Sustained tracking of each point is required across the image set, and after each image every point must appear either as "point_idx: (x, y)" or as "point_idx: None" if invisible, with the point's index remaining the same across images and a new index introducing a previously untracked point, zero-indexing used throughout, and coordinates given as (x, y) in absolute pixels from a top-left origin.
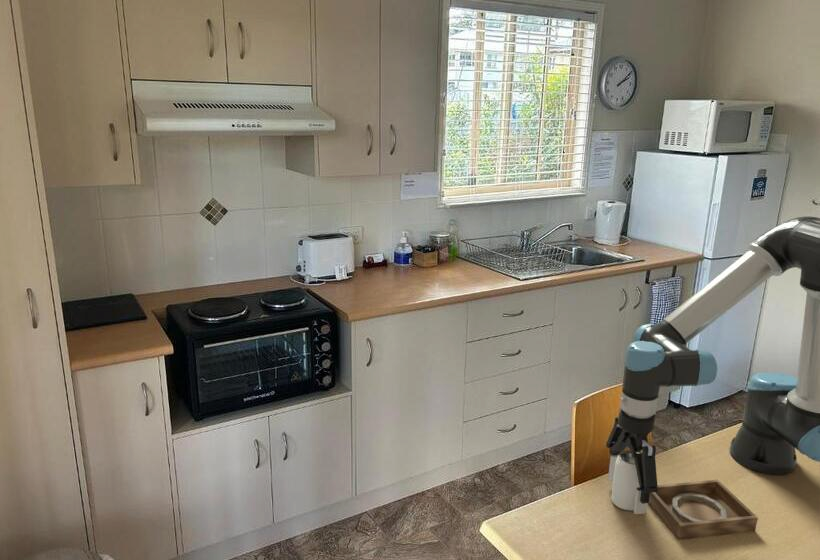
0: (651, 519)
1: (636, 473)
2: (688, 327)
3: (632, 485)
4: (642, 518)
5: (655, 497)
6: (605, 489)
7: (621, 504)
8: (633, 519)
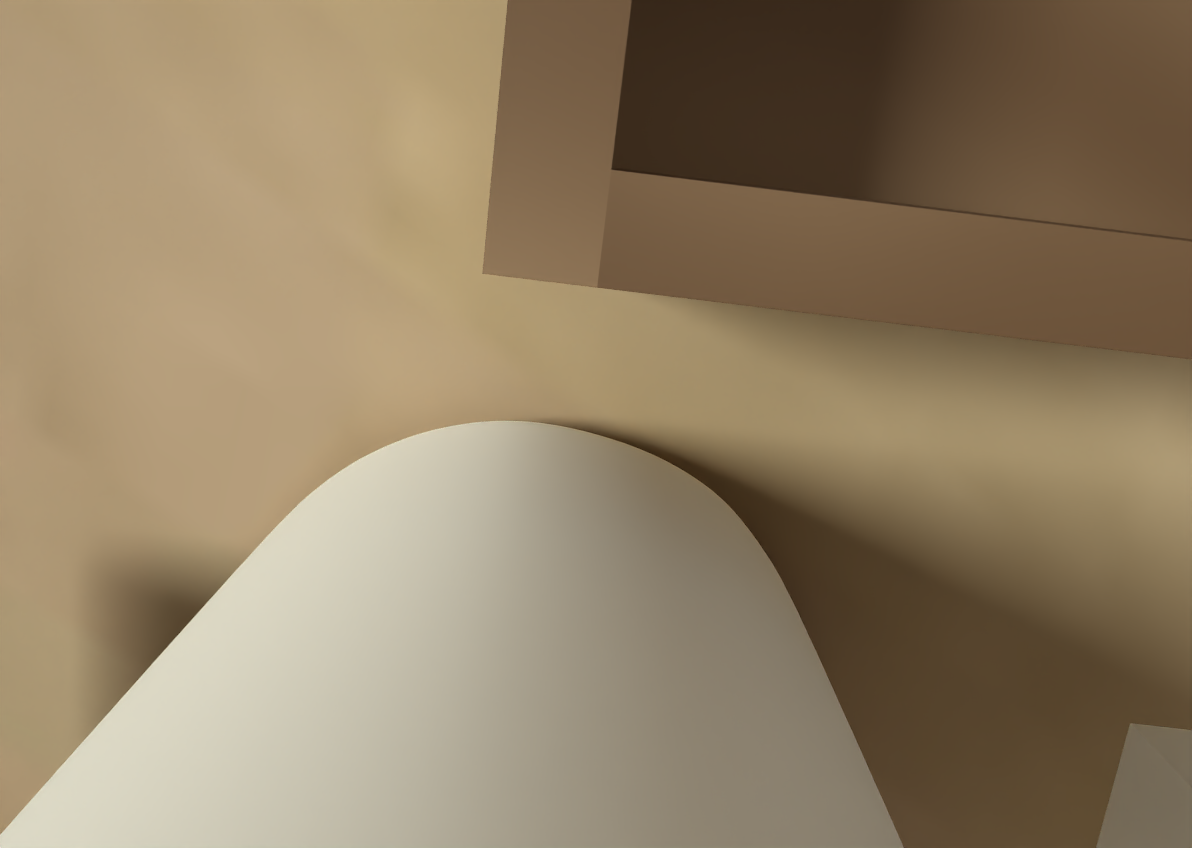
0: (1127, 514)
1: None
2: None
3: None
4: (1035, 658)
5: (1025, 332)
6: None
7: None
8: (996, 824)
